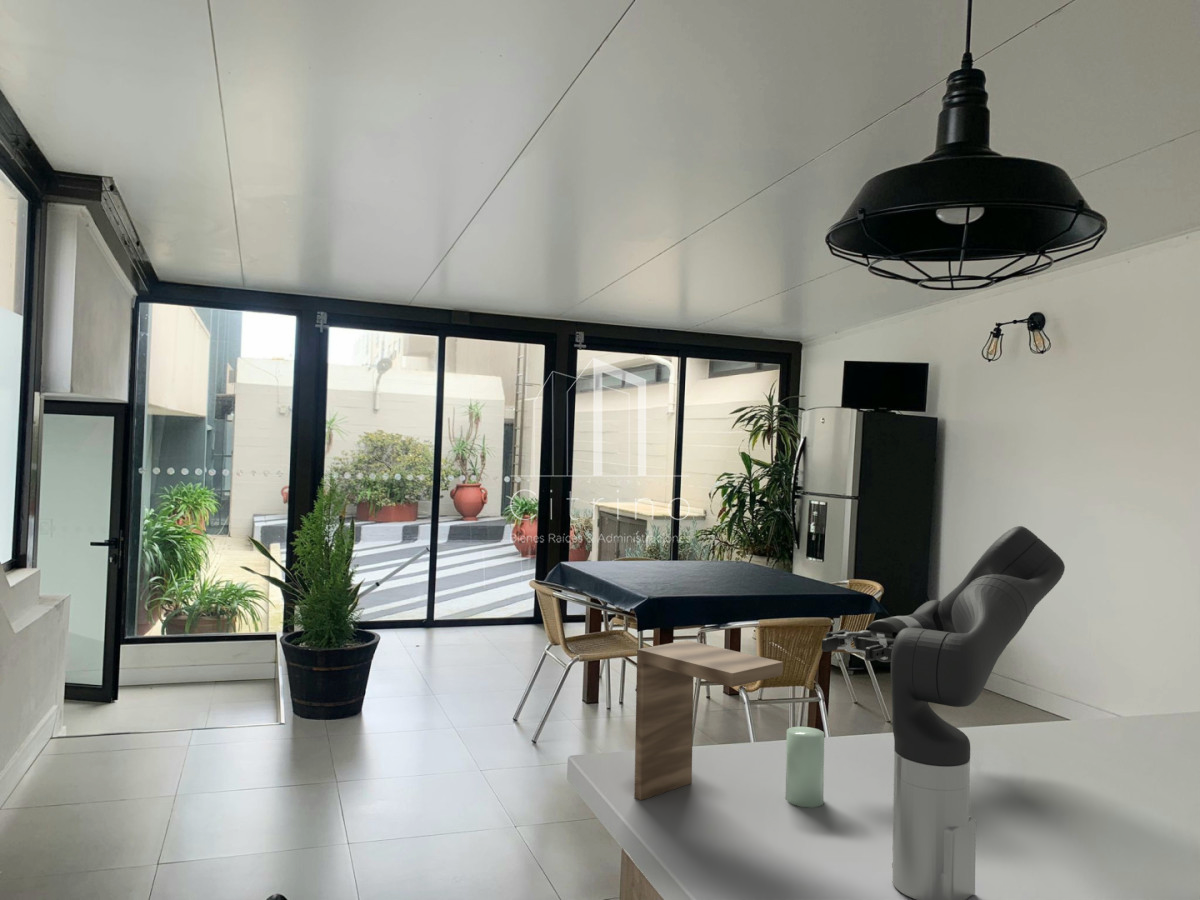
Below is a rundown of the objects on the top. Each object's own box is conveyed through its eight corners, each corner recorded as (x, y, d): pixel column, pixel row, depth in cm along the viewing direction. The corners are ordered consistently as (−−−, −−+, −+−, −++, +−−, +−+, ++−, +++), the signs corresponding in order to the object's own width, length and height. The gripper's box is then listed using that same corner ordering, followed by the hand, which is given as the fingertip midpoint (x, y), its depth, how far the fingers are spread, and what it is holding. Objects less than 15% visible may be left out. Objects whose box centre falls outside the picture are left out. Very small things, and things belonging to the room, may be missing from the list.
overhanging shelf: (780, 818, 135) (783, 661, 135) (729, 839, 127) (732, 673, 127) (685, 780, 150) (687, 640, 150) (634, 797, 142) (637, 649, 142)
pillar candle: (830, 801, 142) (831, 733, 142) (808, 810, 138) (810, 740, 138) (800, 790, 147) (801, 724, 147) (777, 798, 143) (779, 731, 143)
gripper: (860, 611, 166) (810, 621, 155) (931, 623, 156) (882, 634, 145) (860, 651, 166) (809, 664, 155) (931, 665, 155) (882, 680, 145)
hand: (845, 650), depth 150 cm, fingers open, 8 cm apart
